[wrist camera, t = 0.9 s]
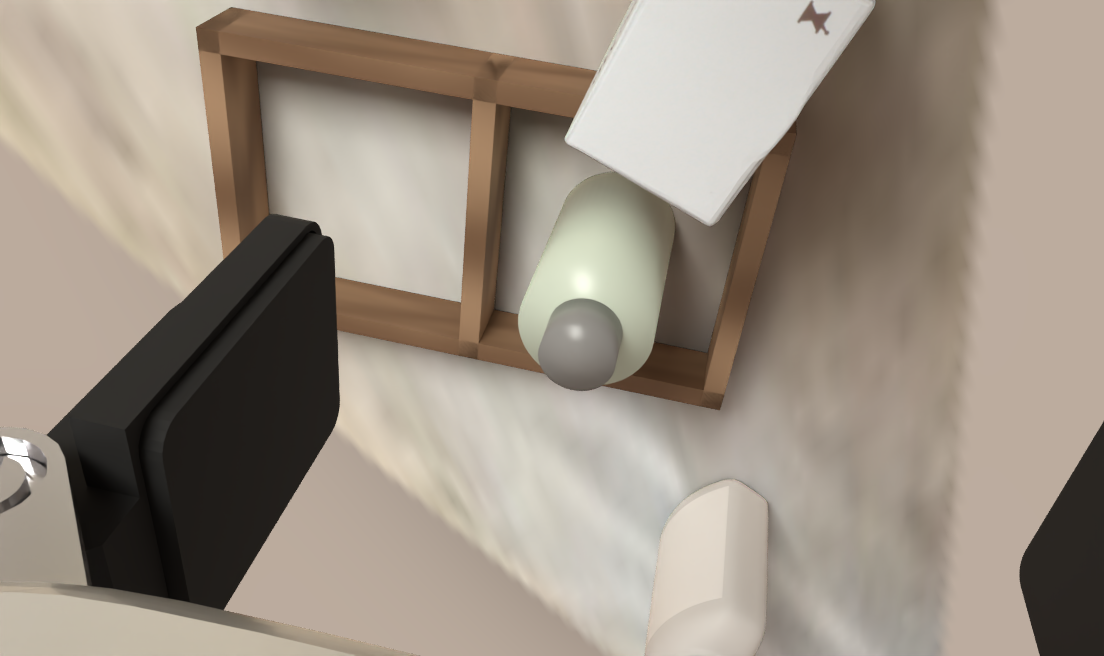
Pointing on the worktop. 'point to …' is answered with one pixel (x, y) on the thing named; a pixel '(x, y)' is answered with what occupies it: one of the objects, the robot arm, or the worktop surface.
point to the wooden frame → (494, 90)
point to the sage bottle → (599, 284)
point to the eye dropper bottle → (711, 575)
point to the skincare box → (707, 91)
